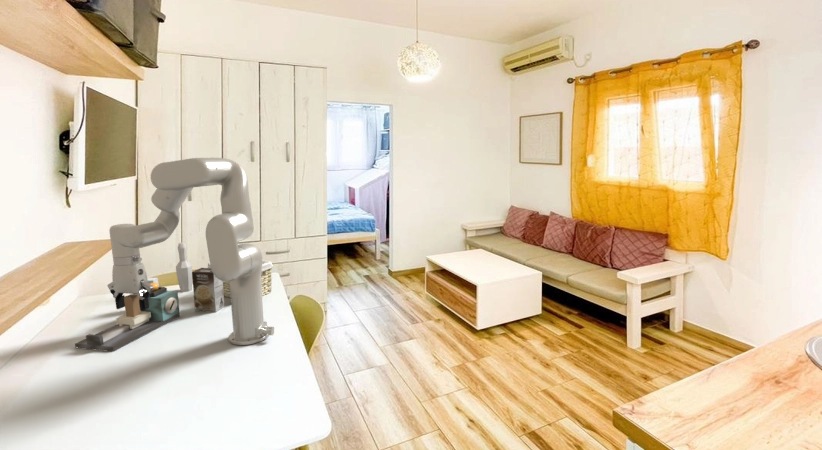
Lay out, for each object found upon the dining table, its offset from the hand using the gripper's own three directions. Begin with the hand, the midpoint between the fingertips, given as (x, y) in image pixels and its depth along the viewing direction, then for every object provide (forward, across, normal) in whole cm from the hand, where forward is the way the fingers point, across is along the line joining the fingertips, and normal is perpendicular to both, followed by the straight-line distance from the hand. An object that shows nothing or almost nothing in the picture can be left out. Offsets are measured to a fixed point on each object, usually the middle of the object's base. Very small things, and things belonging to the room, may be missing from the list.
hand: (132, 308), depth 137 cm
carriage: (+6, 0, 0) cm, 6 cm away
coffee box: (+8, -13, -22) cm, 27 cm away
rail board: (+8, 0, +1) cm, 8 cm away
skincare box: (+8, +11, -19) cm, 23 cm away
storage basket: (+8, -15, -41) cm, 44 cm away
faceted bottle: (+8, +13, -41) cm, 44 cm away
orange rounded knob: (-4, 0, -9) cm, 10 cm away
